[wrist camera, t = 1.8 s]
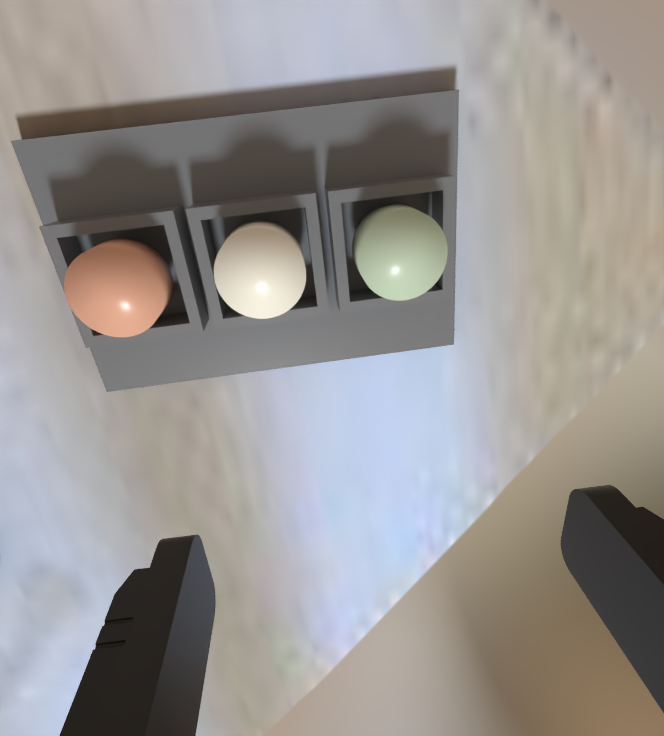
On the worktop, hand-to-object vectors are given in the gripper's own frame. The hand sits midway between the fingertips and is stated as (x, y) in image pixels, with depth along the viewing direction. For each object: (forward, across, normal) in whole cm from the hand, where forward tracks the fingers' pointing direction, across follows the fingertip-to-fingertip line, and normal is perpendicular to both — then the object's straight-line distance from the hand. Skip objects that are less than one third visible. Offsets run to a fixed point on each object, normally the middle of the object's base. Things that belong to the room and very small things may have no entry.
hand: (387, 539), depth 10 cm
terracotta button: (+17, +10, -2) cm, 20 cm away
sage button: (+17, -4, -3) cm, 18 cm away
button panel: (+20, +3, -2) cm, 20 cm away
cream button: (+17, +3, -2) cm, 18 cm away
